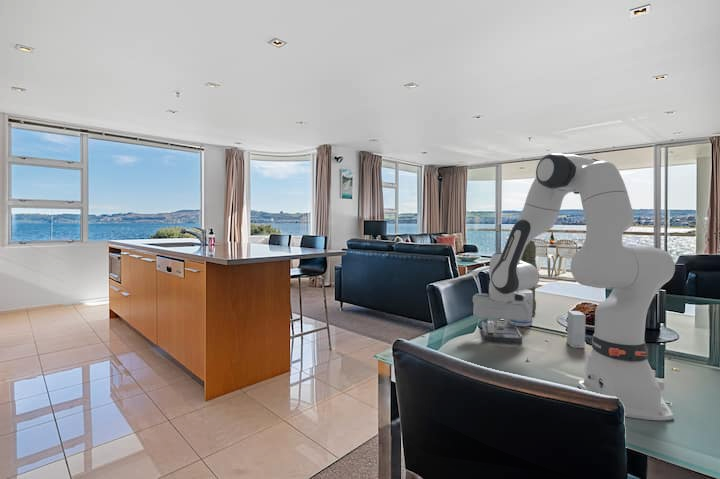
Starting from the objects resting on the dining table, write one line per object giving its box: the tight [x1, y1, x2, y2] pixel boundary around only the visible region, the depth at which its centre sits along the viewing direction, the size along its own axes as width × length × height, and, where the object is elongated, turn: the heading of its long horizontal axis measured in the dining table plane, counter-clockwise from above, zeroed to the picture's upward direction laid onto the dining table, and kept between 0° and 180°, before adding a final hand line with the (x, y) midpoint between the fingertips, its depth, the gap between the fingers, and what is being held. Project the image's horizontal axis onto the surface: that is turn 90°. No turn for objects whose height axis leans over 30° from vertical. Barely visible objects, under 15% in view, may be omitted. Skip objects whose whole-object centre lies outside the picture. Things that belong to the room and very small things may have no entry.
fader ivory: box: [487, 321, 495, 333], centre depth 146 cm, size 4×2×4 cm, turn 166°
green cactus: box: [521, 240, 538, 317], centre depth 180 cm, size 9×12×35 cm
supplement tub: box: [508, 289, 533, 328], centre depth 163 cm, size 10×10×15 cm
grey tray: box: [481, 320, 523, 345], centre depth 149 cm, size 18×13×3 cm
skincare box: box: [566, 310, 587, 349], centre depth 137 cm, size 6×4×12 cm
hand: (500, 329), depth 145 cm, fingers closed
